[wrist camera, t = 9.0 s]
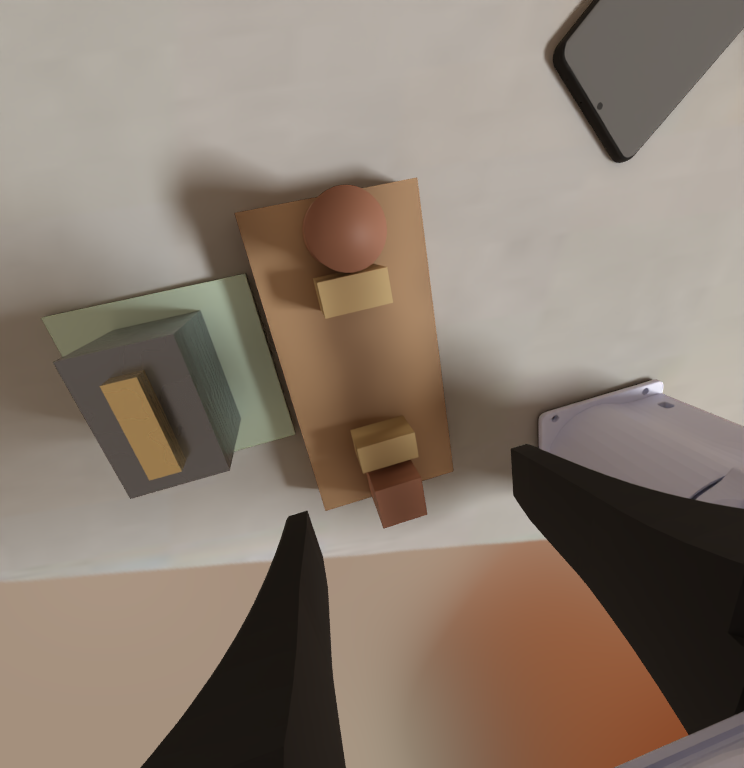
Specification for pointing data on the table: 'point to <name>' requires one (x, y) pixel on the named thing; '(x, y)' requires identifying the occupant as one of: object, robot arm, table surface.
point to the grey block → (156, 402)
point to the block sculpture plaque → (356, 340)
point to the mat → (229, 336)
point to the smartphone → (641, 62)
